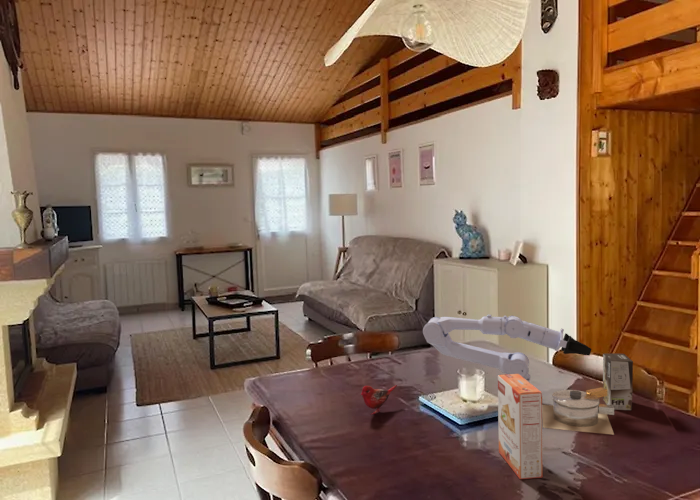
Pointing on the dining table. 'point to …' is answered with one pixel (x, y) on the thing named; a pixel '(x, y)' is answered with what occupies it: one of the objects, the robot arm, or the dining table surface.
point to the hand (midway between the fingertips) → (588, 350)
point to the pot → (580, 414)
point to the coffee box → (618, 380)
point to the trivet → (600, 427)
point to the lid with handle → (579, 398)
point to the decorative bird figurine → (375, 397)
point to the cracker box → (520, 425)
